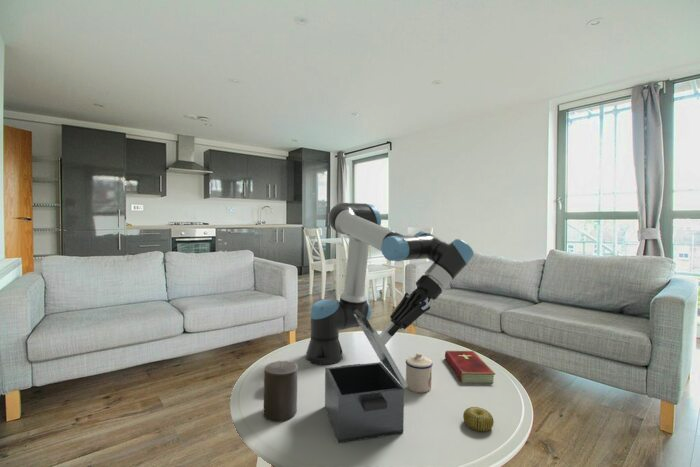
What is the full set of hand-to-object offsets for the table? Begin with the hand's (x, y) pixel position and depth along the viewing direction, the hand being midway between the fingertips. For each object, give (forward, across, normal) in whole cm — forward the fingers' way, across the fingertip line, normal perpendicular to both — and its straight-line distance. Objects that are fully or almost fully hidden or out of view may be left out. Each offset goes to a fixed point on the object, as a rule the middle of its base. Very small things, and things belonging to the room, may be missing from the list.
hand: (380, 341), depth 99 cm
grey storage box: (+19, 0, -12) cm, 23 cm away
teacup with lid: (+2, +15, -30) cm, 33 cm away
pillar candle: (+35, +9, +4) cm, 37 cm away
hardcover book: (-15, +21, -47) cm, 54 cm away
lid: (+2, 0, +1) cm, 2 cm away
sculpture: (-2, -11, -34) cm, 36 cm away
